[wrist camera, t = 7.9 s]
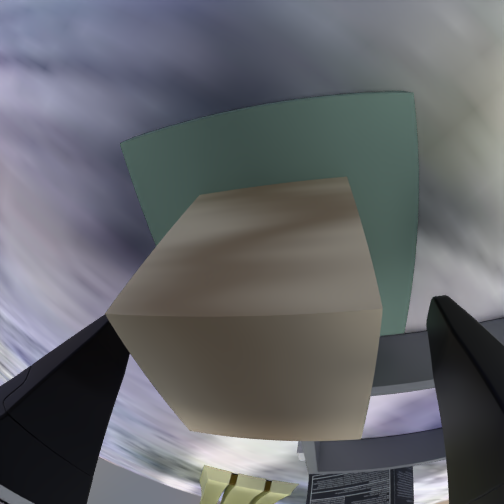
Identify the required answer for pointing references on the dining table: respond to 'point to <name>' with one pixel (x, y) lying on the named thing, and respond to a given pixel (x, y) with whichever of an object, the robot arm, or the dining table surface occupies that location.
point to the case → (386, 382)
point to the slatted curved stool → (240, 488)
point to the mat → (298, 170)
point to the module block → (260, 314)
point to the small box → (362, 487)
